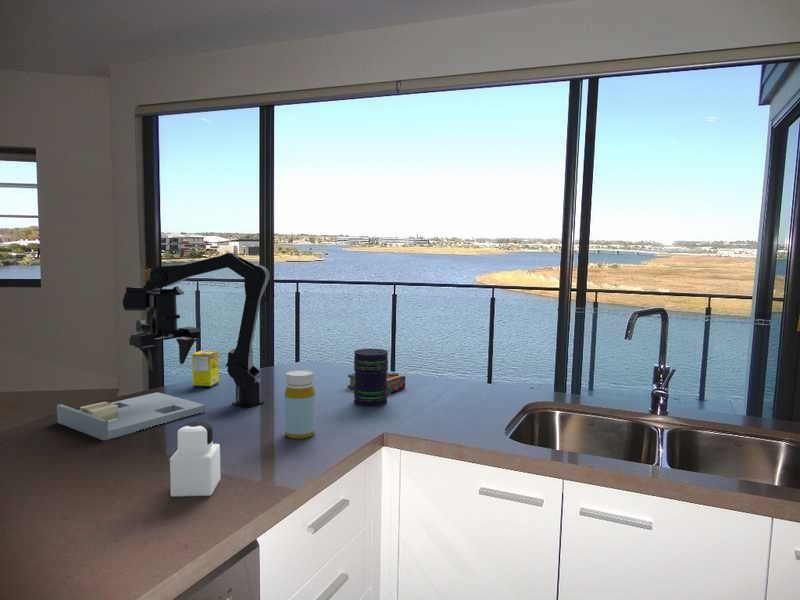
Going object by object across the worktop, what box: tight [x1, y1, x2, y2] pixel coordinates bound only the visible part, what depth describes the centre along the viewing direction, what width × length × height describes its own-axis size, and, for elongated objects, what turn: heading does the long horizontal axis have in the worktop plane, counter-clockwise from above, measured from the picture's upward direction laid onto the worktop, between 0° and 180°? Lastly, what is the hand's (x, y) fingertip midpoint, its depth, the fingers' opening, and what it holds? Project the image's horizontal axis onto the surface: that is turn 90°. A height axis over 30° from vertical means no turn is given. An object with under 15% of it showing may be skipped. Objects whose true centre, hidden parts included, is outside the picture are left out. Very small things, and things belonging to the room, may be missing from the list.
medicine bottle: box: [169, 420, 221, 498], centre depth 99 cm, size 7×7×12 cm
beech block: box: [79, 401, 118, 420], centre depth 133 cm, size 6×6×3 cm
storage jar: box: [353, 348, 389, 408], centre depth 156 cm, size 10×10×15 cm
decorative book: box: [347, 372, 406, 396], centre depth 173 cm, size 11×16×5 cm
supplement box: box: [191, 350, 220, 389], centre depth 173 cm, size 6×6×11 cm
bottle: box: [284, 369, 316, 440], centre depth 128 cm, size 7×7×15 cm
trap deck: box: [56, 391, 206, 442], centre depth 140 cm, size 22×27×4 cm
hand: (167, 366), depth 151 cm, fingers open, 9 cm apart
